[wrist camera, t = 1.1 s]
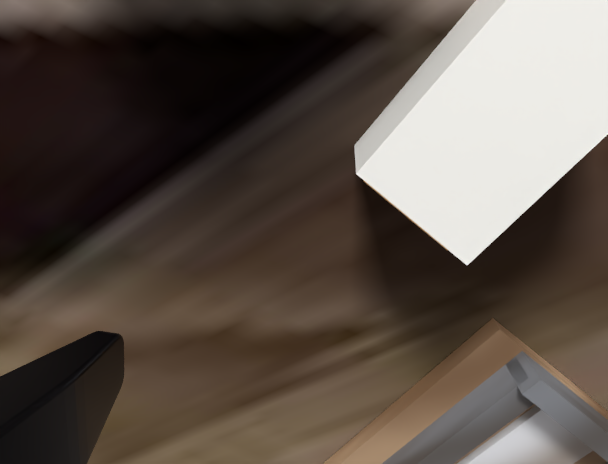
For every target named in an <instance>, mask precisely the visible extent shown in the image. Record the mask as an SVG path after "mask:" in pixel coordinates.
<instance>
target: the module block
mask: <svg viewBox="0 0 608 464" xmlns="http://www.w3.org/2000/svg"><path fill="white" fill-rule="evenodd" d="M607 134H608V0H476V1H475V2H474V3H473V5H472V6H471V7H470V8H469V9H468V11H467V12H466V13H465V14H464V15H463V17H462V18H461V19H460V20H459V21H458V23H457V24H456V25H455V26H454V27H453V28H452V30H451V31H450V32H449V33H448V34H447V36H446V37H445V38H444V39H443V40H442V42H441V43H440V44H439V45H438V46H437V48H436V49H435V50H434V51H433V52H432V53H431V55H430V56H429V57H428V58H427V59H426V61H425V62H424V63H423V64H422V65H421V67H420V68H419V69H418V70H417V71H416V73H415V74H414V75H413V76H412V77H411V79H410V80H409V81H408V82H407V83H406V84H405V86H404V87H403V88H402V89H401V90H400V92H399V93H398V94H397V95H396V96H395V98H394V99H393V100H392V101H391V102H390V104H389V105H388V106H387V107H386V108H385V110H384V111H383V112H382V113H381V114H380V115H379V117H378V118H377V119H376V120H375V121H374V123H373V124H372V125H371V126H370V127H369V129H368V130H367V131H366V132H365V133H364V135H363V136H362V137H361V138H360V139H359V141H358V142H357V143H356V144H355V145H354V148H355V164H356V174H357V175H358V176H359V177H360V178H362V179H363V181H364V182H365V183H366V184H367V185H369V186H370V187H371V188H372V189H373V190H375V191H376V192H377V193H378V194H379V195H381V196H382V197H383V198H384V199H386V200H387V201H388V202H389V203H390V204H392V205H393V206H394V207H395V208H396V209H398V210H399V211H400V212H401V213H402V214H404V215H405V216H406V217H407V218H409V219H410V220H411V221H412V222H413V223H415V224H416V225H417V226H418V227H419V228H421V229H422V230H423V231H424V232H425V233H427V234H428V235H429V236H430V237H432V238H433V239H434V240H435V241H436V242H438V243H439V244H440V245H441V246H442V247H444V248H445V249H446V250H449V251H450V252H451V253H452V254H454V255H455V256H456V257H457V258H458V259H460V260H461V261H462V262H463V263H465V264H466V265H468V264H469V263H470V262H472V261H473V260H474V259H475V258H476V257H477V256H478V255H479V254H480V253H481V252H482V251H483V250H484V249H485V248H487V247H488V246H489V245H490V244H491V243H492V242H493V241H494V240H495V239H496V238H497V237H498V236H499V235H500V234H502V233H503V232H504V231H505V230H506V229H507V228H508V227H509V226H510V225H511V224H512V223H513V222H514V221H515V220H517V219H518V218H519V217H520V216H521V215H522V214H523V213H524V212H525V211H526V210H527V209H528V208H529V207H530V206H531V205H533V204H534V203H535V202H536V201H537V200H538V199H539V198H540V197H541V196H542V195H543V194H544V193H545V192H546V191H548V190H549V189H550V188H551V187H552V186H553V185H554V184H555V183H556V182H557V181H558V180H559V179H560V178H561V177H563V176H564V175H565V174H566V173H567V172H568V171H569V170H570V169H571V168H572V167H573V166H574V165H575V164H576V163H578V162H579V161H580V160H581V159H582V158H583V157H584V156H585V155H586V154H587V153H588V152H589V151H590V150H591V149H592V148H594V147H595V146H596V145H597V144H598V143H599V142H600V141H601V140H602V139H603V138H604V137H605V136H606V135H607Z"/></svg>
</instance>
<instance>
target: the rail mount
mask: <svg viewBox="0 0 608 464" xmlns="http://www.w3.org/2000/svg"><path fill="white" fill-rule="evenodd" d="M323 464H608V411H607V410H605V409H604V408H603V407H602V406H600V405H599V404H598V403H597V402H596V401H594V400H593V399H592V398H591V397H589V396H588V395H587V394H586V393H584V392H583V391H582V390H581V389H580V388H578V387H577V386H576V385H575V384H573V383H572V382H571V381H570V380H568V379H567V378H566V377H565V376H564V375H562V374H561V373H560V372H559V371H557V370H556V369H555V368H554V367H552V366H551V365H550V364H549V363H548V362H546V361H545V360H544V359H543V358H541V357H540V356H539V355H538V354H536V353H535V352H534V351H533V350H532V349H530V348H529V347H528V346H527V345H525V344H524V343H523V342H522V341H520V340H519V339H518V338H517V337H516V336H514V335H513V334H512V333H511V332H509V331H508V330H507V329H506V328H504V327H503V326H502V325H501V324H500V323H498V322H497V321H496V320H495V319H493V318H492V319H491V320H490V321H489V322H487V323H486V324H485V325H484V326H483V327H482V328H480V329H479V330H478V331H477V332H476V333H475V334H473V335H472V336H471V337H470V338H469V339H468V340H466V341H465V342H464V343H463V344H462V345H461V346H459V347H458V348H457V349H456V350H455V351H454V352H452V353H451V354H450V355H449V356H448V357H447V358H445V359H444V360H443V361H442V362H441V363H440V364H438V365H437V366H436V367H435V368H434V369H433V370H431V371H430V372H429V373H428V374H427V375H426V376H424V377H423V378H422V379H421V380H420V381H419V382H417V383H416V384H415V385H414V386H413V387H412V388H410V389H409V390H408V391H407V392H406V393H405V394H403V395H402V396H401V397H400V398H399V399H398V400H396V401H395V402H394V403H393V404H392V405H391V406H390V407H388V408H387V409H386V410H385V411H384V412H383V413H381V414H380V415H379V416H378V417H377V418H376V419H374V420H373V421H372V422H371V423H370V424H369V425H367V426H366V427H365V428H364V429H363V430H362V431H360V432H359V433H358V434H357V435H356V436H355V437H353V438H352V439H351V440H350V441H349V442H348V443H346V444H345V445H344V446H343V447H342V448H341V449H339V450H338V451H337V452H336V453H335V454H334V455H332V456H331V457H330V458H329V459H328V460H327V461H325V462H324V463H323Z"/></svg>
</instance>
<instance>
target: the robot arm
mask: <svg viewBox="0 0 608 464" xmlns="http://www.w3.org/2000/svg"><path fill="white" fill-rule="evenodd" d="M123 379H124V341H123V338H122V336H121V335H120V334H117V333H110V332H103V331H96V332H94V333H91V334H89V335H87V336H85V337H83V338H81V339H79V340H76V341H74V342H72V343H70V344H68V345H66V346H64V347H62V348H60V349H57V350H55V351H53V352H51V353H49V354H47V355H45V356H43V357H41V358H38V359H36V360H34V361H32V362H30V363H28V364H26V365H24V366H22V367H19V368H17V369H15V370H13V371H11V372H9V373H7V374H5V375H3V376H0V464H87V462H88V460H89V458H90V456H91V453H92V451H93V449H94V447H95V444H96V442H97V440H98V438H99V435H100V433H101V431H102V429H103V427H104V424H105V422H106V420H107V418H108V415H109V413H110V411H111V409H112V406H113V404H114V402H115V400H116V398H117V395H118V393H119V391H120V389H121V386H122V383H123Z"/></svg>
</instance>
